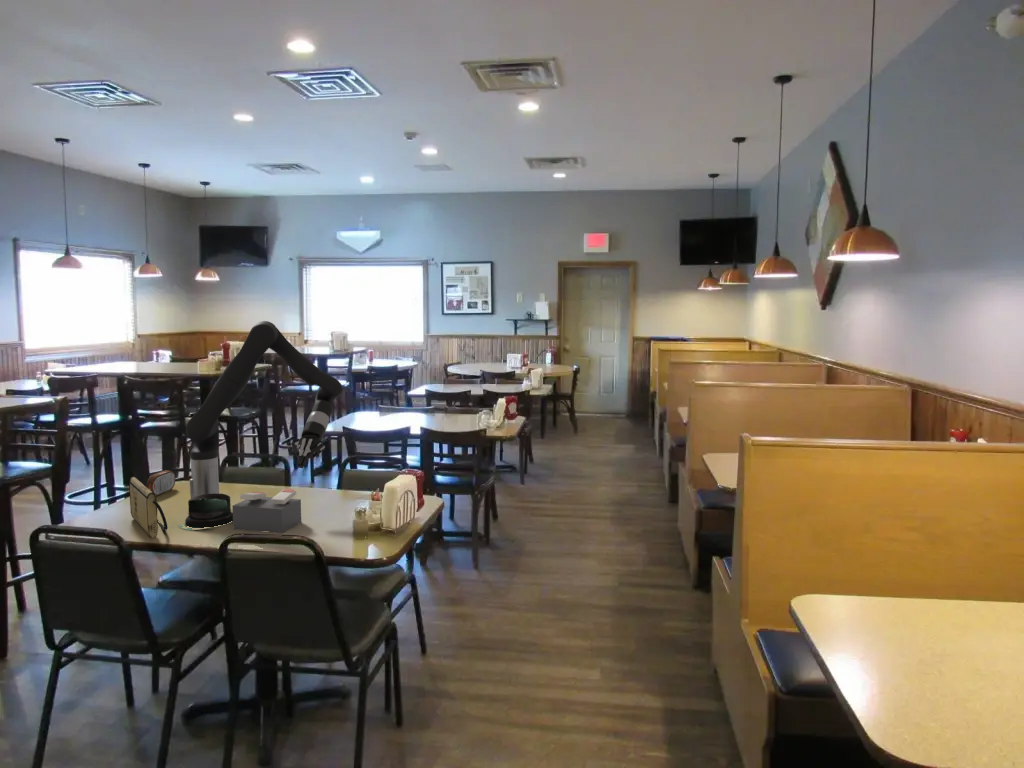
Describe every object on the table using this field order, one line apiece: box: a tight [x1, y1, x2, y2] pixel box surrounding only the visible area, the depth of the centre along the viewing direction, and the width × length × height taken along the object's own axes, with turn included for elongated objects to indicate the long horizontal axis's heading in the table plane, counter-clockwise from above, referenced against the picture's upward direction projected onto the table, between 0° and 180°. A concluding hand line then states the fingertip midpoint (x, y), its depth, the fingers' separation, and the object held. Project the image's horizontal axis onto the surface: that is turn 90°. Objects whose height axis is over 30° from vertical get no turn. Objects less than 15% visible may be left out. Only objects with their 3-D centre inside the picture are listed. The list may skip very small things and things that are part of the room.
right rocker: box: [271, 488, 297, 504], centre depth 232 cm, size 8×4×2 cm, turn 167°
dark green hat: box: [178, 493, 233, 531], centre depth 237 cm, size 20×20×9 cm
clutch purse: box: [128, 476, 169, 538], centre depth 231 cm, size 30×7×15 cm, turn 40°
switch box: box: [231, 496, 302, 534], centre depth 232 cm, size 12×18×9 cm, turn 77°
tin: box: [145, 469, 176, 497], centre depth 272 cm, size 15×3×8 cm, turn 172°
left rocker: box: [239, 491, 267, 500], centre depth 232 cm, size 8×4×2 cm, turn 167°
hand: (299, 466), depth 241 cm, fingers closed
